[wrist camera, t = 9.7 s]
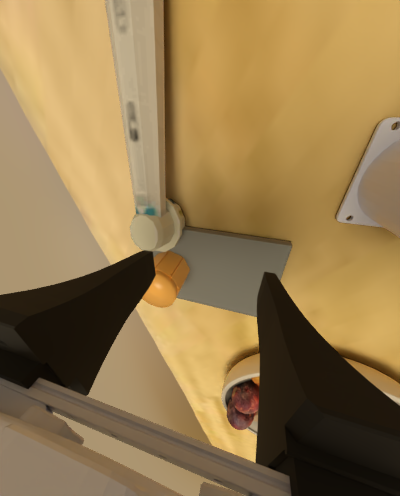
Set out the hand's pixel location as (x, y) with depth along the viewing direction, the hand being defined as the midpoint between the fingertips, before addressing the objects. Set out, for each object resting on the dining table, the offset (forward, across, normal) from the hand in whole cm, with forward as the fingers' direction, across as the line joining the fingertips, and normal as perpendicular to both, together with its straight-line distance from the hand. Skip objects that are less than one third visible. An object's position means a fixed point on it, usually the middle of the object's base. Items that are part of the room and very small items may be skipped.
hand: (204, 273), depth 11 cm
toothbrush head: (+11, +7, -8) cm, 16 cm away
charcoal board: (+10, +2, +8) cm, 13 cm away
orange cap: (+10, +7, +8) cm, 14 cm away
